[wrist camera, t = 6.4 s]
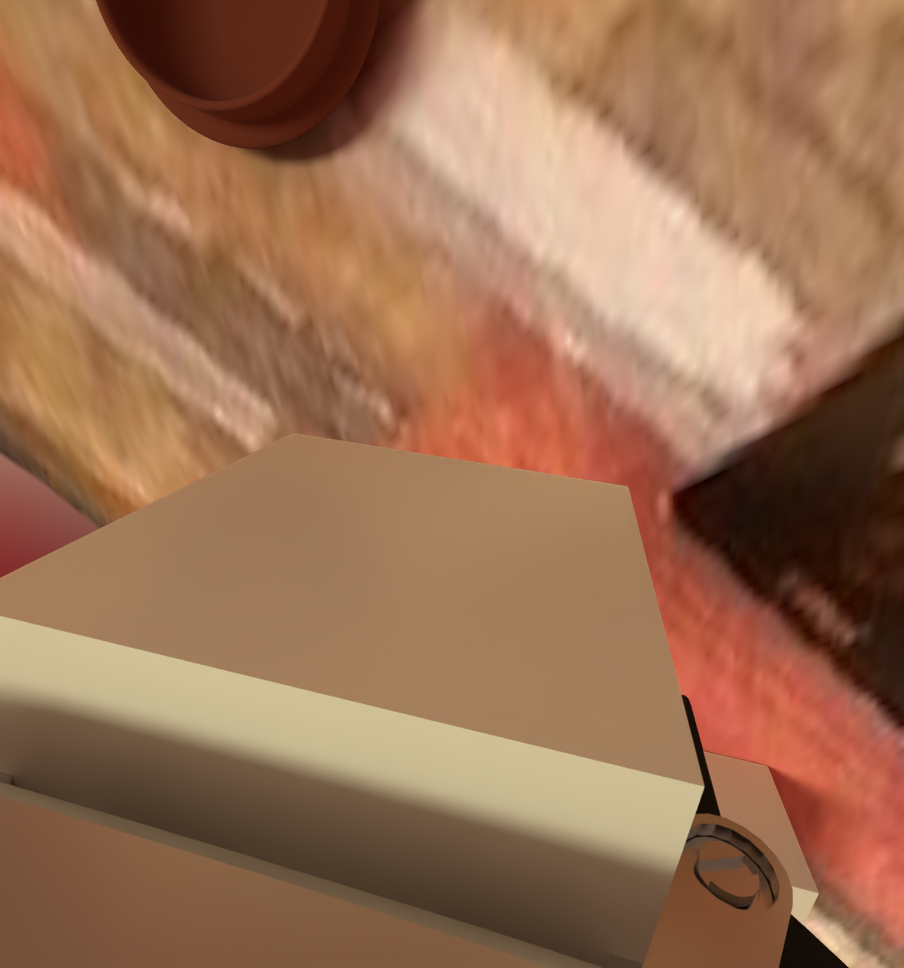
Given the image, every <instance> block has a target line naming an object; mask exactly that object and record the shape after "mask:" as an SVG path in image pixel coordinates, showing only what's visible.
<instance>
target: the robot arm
mask: <svg viewBox="0 0 904 968" xmlns="http://www.w3.org/2000/svg"><path fill="white" fill-rule="evenodd" d="M681 696H682V700H683V704H684V708H685V712H686V716H687V720H688V723H689V727H690V731H691V735H692V739H693V743H694V747H695V751H696V755H697V759H698V763H699V767H700V771H701V774H702V778H703V782H704V786H705V787H704V790H703V793H702V796H701V799H700V802H699V805H698V807H697V810H696V813H695V816H694V819H693V822H692V825H691V828H690V831H689V833H688V836H687V839H686V842H685V845H684V848H683V851H682V854H681V857H680V860H679V862H678V865H677V868H676V871H675V874H674V877H673V880H672V883H671V886H670V888H669V891H668V894H667V897H666V900H665V903H664V906H663V909H662V912H661V915H660V917H659V920H658V923H657V926H656V929H655V932H654V935H653V938H652V941H651V943H650V946H649V949H648V952H647V955H646V958H645V961H644V964H642V963H639V962H635V961H632V960H629V959H625V958H622V957H619V956H615V955H612V954H611V955H610V957H609V959H608V961H607V963H606V965H605V967H604V968H848V967H847V966H846V965H845V964H844V963H843V962H842V961H841V960H840V959H839V958H838V957H837V956H836V955H835V954H834V953H832V952H831V951H830V950H829V949H828V948H827V947H826V946H825V945H824V944H823V943H822V942H821V941H820V940H819V939H817V938H816V937H815V936H814V935H813V934H812V933H811V932H810V931H809V930H808V929H807V928H806V927H805V926H804V925H802V924H801V923H800V922H799V921H798V920H797V919H796V918H795V917H794V916H793V915H792V914H791V911H792V907H793V889H792V886H791V883H790V880H789V877H788V874H787V872H786V870H785V869H784V867H783V866H782V864H781V862H780V861H779V859H778V858H777V856H776V855H775V854H774V853H773V852H772V851H771V849H770V848H769V847H768V846H767V845H766V844H765V843H764V842H763V841H762V840H761V839H760V838H758V837H757V836H756V835H754V834H753V833H752V832H750V831H749V830H747V829H746V828H745V827H743V826H741V825H739V824H737V823H735V822H733V821H731V820H729V819H727V818H724V817H721V814H720V811H719V807H718V803H717V800H716V796H715V792H714V789H713V785H712V781H711V777H710V774H709V770H708V766H707V763H706V759H705V755H704V752H703V748H702V744H701V741H700V737H699V733H698V729H697V726H696V722H695V718H694V715H693V711H692V707H691V704H690V701H689V699H688V698H687V697H686V696H684V695H681ZM0 968H603V967H600V966H597V965H594V964H591V963H588V962H585V961H582V960H579V959H576V958H573V957H570V956H567V955H564V954H561V953H558V952H555V951H552V950H548V949H545V948H542V947H539V946H536V945H533V944H530V943H527V942H524V941H521V940H518V939H515V938H512V937H509V936H506V935H503V934H500V933H497V932H494V931H491V930H488V929H484V928H481V927H478V926H475V925H471V924H468V923H465V922H462V921H459V920H455V919H452V918H449V917H446V916H442V915H439V914H436V913H433V912H430V911H426V910H423V909H420V908H417V907H413V906H410V905H407V904H404V903H401V902H397V901H394V900H391V899H388V898H384V897H381V896H378V895H375V894H371V893H368V892H365V891H362V890H359V889H355V888H352V887H349V886H346V885H342V884H339V883H336V882H333V881H330V880H326V879H323V878H320V877H316V876H313V875H310V874H307V873H303V872H300V871H297V870H293V869H290V868H287V867H284V866H280V865H277V864H274V863H270V862H267V861H264V860H261V859H257V858H254V857H251V856H247V855H244V854H241V853H238V852H234V851H231V850H228V849H224V848H221V847H218V846H214V845H211V844H208V843H204V842H201V841H198V840H194V839H191V838H188V837H185V836H181V835H178V834H175V833H171V832H168V831H165V830H161V829H158V828H155V827H151V826H148V825H145V824H141V823H138V822H135V821H131V820H128V819H124V818H121V817H118V816H114V815H111V814H108V813H104V812H101V811H97V810H94V809H91V808H87V807H84V806H80V805H77V804H74V803H70V802H67V801H64V800H60V799H57V798H53V797H50V796H47V795H43V794H40V793H37V792H33V791H30V790H26V789H23V788H20V787H16V786H15V782H14V778H13V775H10V774H7V773H3V772H0Z"/></svg>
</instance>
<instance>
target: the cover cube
mask: <svg viewBox="0 0 904 968" xmlns="http://www.w3.org/2000/svg"><path fill="white" fill-rule="evenodd" d="M0 772H3V773H7V774H10V775H13V778H14V782H15V786H16V787H20V788H23V789H26V790H30V791H33V792H37V793H40V794H43V795H47V796H50V797H53V798H57V799H60V800H64V801H67V802H70V803H74V804H77V805H80V806H84V807H87V808H91V809H94V810H97V811H101V812H104V813H108V814H111V815H114V816H118V817H121V818H124V819H128V820H131V821H135V822H138V823H141V824H145V825H148V826H151V827H155V828H158V829H161V830H165V831H168V832H171V833H175V834H178V835H181V836H185V837H188V838H191V839H194V840H198V841H201V842H204V843H208V844H211V845H214V846H218V847H221V848H224V849H228V850H231V851H234V852H238V853H241V854H244V855H247V856H251V857H254V858H257V859H261V860H264V861H267V862H270V863H274V864H277V865H280V866H284V867H287V868H290V869H293V870H297V871H300V872H303V873H307V874H310V875H313V876H316V877H320V878H323V879H326V880H330V881H333V882H336V883H339V884H342V885H346V886H349V887H352V888H355V889H359V890H362V891H365V892H368V893H371V894H375V895H378V896H381V897H384V898H388V899H391V900H394V901H397V902H401V903H404V904H407V905H410V906H413V907H417V908H420V909H423V910H426V911H430V912H433V913H436V914H439V915H442V916H446V917H449V918H452V919H455V920H459V921H462V922H465V923H468V924H471V925H475V926H478V927H481V928H484V929H488V930H491V931H494V932H497V933H500V934H503V935H506V936H509V937H512V938H515V939H518V940H521V941H524V942H527V943H530V944H533V945H536V946H539V947H542V948H545V949H548V950H552V951H555V952H558V953H561V954H564V955H567V956H570V957H573V958H576V959H579V960H582V961H585V962H588V963H591V964H594V965H597V966H600V967H603V968H604V967H605V965H606V963H607V961H608V959H609V957H610V955H611V954H612V955H615V956H619V957H622V958H625V959H629V960H632V961H635V962H639V963H642V964H644V961H645V958H646V955H647V952H648V949H649V946H650V943H651V941H652V938H653V935H654V932H655V929H656V926H657V923H658V920H659V917H660V915H661V912H662V909H663V906H664V903H665V900H666V897H667V894H668V891H669V888H670V886H671V883H672V880H673V877H674V874H675V871H676V868H677V865H678V862H679V860H680V857H681V854H682V851H683V848H684V845H685V842H686V839H687V836H688V833H689V831H690V828H691V825H692V822H693V819H694V816H695V813H696V810H697V807H698V805H699V802H700V799H701V796H702V793H703V790H704V787H705V786H704V782H703V778H702V774H701V771H700V767H699V763H698V759H697V755H696V751H695V747H694V743H693V739H692V735H691V731H690V727H689V723H688V720H687V716H686V712H685V708H684V704H683V700H682V696H681V692H680V688H679V684H678V680H677V676H676V672H675V669H674V665H673V661H672V657H671V653H670V649H669V645H668V641H667V637H666V633H665V629H664V625H663V621H662V618H661V614H660V610H659V606H658V602H657V598H656V594H655V590H654V586H653V582H652V578H651V574H650V570H649V567H648V563H647V559H646V555H645V551H644V547H643V543H642V539H641V535H640V531H639V527H638V523H637V519H636V515H635V512H634V508H633V504H632V500H631V496H630V492H629V488H628V486H623V485H616V484H610V483H604V482H598V481H591V480H585V479H579V478H572V477H566V476H560V475H554V474H547V473H541V472H535V471H529V470H522V469H516V468H510V467H503V466H497V465H491V464H485V463H478V462H472V461H466V460H460V459H453V458H447V457H441V456H434V455H428V454H422V453H416V452H409V451H403V450H397V449H391V448H384V447H378V446H372V445H365V444H359V443H353V442H347V441H340V440H334V439H328V438H322V437H315V436H309V435H303V434H296V433H292V434H290V435H288V436H286V437H284V438H282V439H280V440H278V441H276V442H274V443H272V444H270V445H268V446H266V447H264V448H262V449H260V450H258V451H256V452H254V453H252V454H250V455H248V456H246V457H244V458H242V459H240V460H238V461H236V462H234V463H232V464H230V465H228V466H226V467H224V468H222V469H220V470H218V471H216V472H214V473H211V474H209V475H207V476H205V477H203V478H201V479H199V480H197V481H195V482H193V483H191V484H189V485H187V486H185V487H183V488H181V489H179V490H177V491H175V492H173V493H171V494H169V495H167V496H165V497H163V498H161V499H159V500H157V501H155V502H153V503H151V504H149V505H147V506H145V507H143V508H141V509H139V510H137V511H135V512H133V513H131V514H129V515H127V516H125V517H123V518H121V519H119V520H117V521H114V522H112V523H110V524H108V525H106V526H104V527H102V528H100V529H98V530H96V531H94V532H92V533H90V534H88V535H86V536H84V537H82V538H80V539H78V540H76V541H74V542H72V543H70V544H68V545H66V546H64V547H62V548H60V549H58V550H56V551H54V552H52V553H50V554H48V555H46V556H44V557H42V558H40V559H38V560H36V561H34V562H32V563H30V564H28V565H26V566H24V567H22V568H20V569H18V570H16V571H13V572H11V573H10V574H7V575H5V576H3V577H1V578H0Z"/></svg>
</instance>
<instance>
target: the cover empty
mask: <svg viewBox="0 0 904 968" xmlns="http://www.w3.org/2000/svg"><path fill="white" fill-rule="evenodd" d="M703 752H704V755H705V759H706V763H707V766H708V770H709V774H710V777H711V781H712V785H713V789H714V792H715V796H716V800H717V803H718V807H719V811H720V814H721V817H724V818H727V819H729V820H731V821H733V822H735V823H737V824H739V825H741V826H743V827H745V828H746V829H747V830H749V831H750V832H752V833H753V834H754V835H756V836H757V837H758V838H760V839H761V840H762V841H763V842H764V843H765V844H766V845H767V846H768V847H769V848H770V849H771V851H772V852H773V853H774V854H775V855H776V856H777V858H778V859H779V861H780V862H781V864H782V866H783V867H784V869H785V870H786V872H787V874H788V877H789V880H790V883H791V886H792V889H793V907H792V911H791V914H792V915H793V916H794V917H795V918H796V919H797V920H798V921H799V922H800V923H801V924H802V925H804V923H805V921H806V919H807V917H808V915H809V913H810V911H811V909H812V907H813V904H814V902H815V900H816V898H817V896H818V894H819V893H818V890H817V888H816V885H815V883H814V880H813V878H812V875H811V873H810V870H809V868H808V865H807V863H806V860H805V858H804V855H803V853H802V850H801V848H800V845H799V843H798V840H797V838H796V835H795V833H794V830H793V828H792V825H791V823H790V820H789V818H788V815H787V813H786V810H785V808H784V805H783V803H782V800H781V798H780V796H779V793H778V791H777V788H776V786H775V783H774V781H773V778H772V776H771V773H770V771H769V768H768V766H766V765H762V764H758V763H753V762H749V761H745V760H740V759H736V758H732V757H727V756H723V755H719V754H715V753H710V752H706V751H703Z"/></svg>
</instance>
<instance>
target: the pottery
mask: <svg viewBox="0 0 904 968" xmlns="http://www.w3.org/2000/svg"><path fill="white" fill-rule="evenodd" d="M96 2H97V4H98V7H99V10H100V12H101V15H102V17H103V19H104V21H105V24H106V26H107V28H108V30H109V32H110V34H111V35H112V37H113V39H114V41H115V42H116V44H117V46H118V47H119V49H120V50H121V52H122V53H123V54H124V56H125V57H126V59H127V60H128V61H129V62H130V64H131V65H132V66H133V67H134V68H135V70H136V71H137V72H138V73H139V74H140V75H141V76H142V77H143V78H144V79H145V80H146V81H147V82H148V84H149V85H150V87H151V88H152V90H153V91H154V92H155V94H156V95H157V96H158V98H159V99H160V100H161V101H162V102H163V103H164V105H165V106H166V107H167V108H168V109H169V110H170V111H171V112H172V113H173V114H174V115H175V116H176V117H178V118H179V119H180V120H181V121H182V122H183V123H185V124H186V125H187V126H189V127H190V128H192V129H193V130H195V131H196V132H198V133H200V134H201V135H203V136H205V137H207V138H209V139H212V140H214V141H216V142H219V143H222V144H226V145H229V146H234V147H240V148H266V147H272V146H277V145H280V144H284V143H287V142H289V141H292V140H294V139H296V138H298V137H300V136H302V135H304V134H305V133H307V132H309V131H310V130H312V129H313V128H314V127H316V126H317V125H318V124H320V123H321V122H322V121H323V120H324V119H325V118H326V117H327V116H329V115H330V113H331V112H332V111H333V110H334V109H335V108H336V107H337V106H338V105H339V103H340V102H341V101H342V99H343V98H344V97H345V95H346V94H347V92H348V91H349V89H350V88H351V86H352V85H353V83H354V81H355V79H356V78H357V76H358V74H359V72H360V70H361V68H362V65H363V63H364V61H365V58H366V56H367V53H368V50H369V47H370V44H371V41H372V38H373V34H374V30H375V26H376V22H377V16H378V11H379V4H380V0H96Z"/></svg>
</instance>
